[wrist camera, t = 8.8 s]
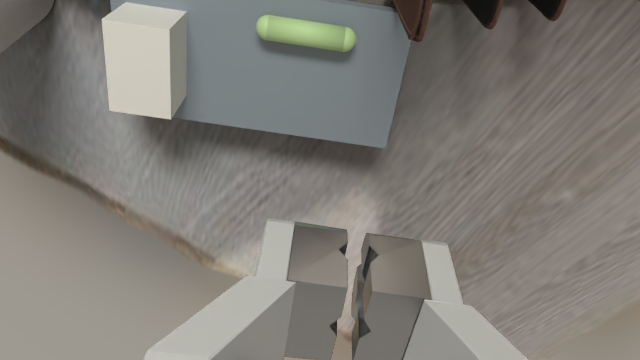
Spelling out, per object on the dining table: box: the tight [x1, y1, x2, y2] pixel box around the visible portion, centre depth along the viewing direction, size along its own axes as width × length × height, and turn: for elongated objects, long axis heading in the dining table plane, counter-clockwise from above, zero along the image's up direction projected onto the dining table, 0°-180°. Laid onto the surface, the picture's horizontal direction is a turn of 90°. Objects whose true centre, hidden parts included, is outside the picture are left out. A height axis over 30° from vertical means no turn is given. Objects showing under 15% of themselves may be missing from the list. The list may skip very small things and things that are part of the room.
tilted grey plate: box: [102, 0, 412, 149], centre depth 35 cm, size 10×20×5 cm, turn 82°
